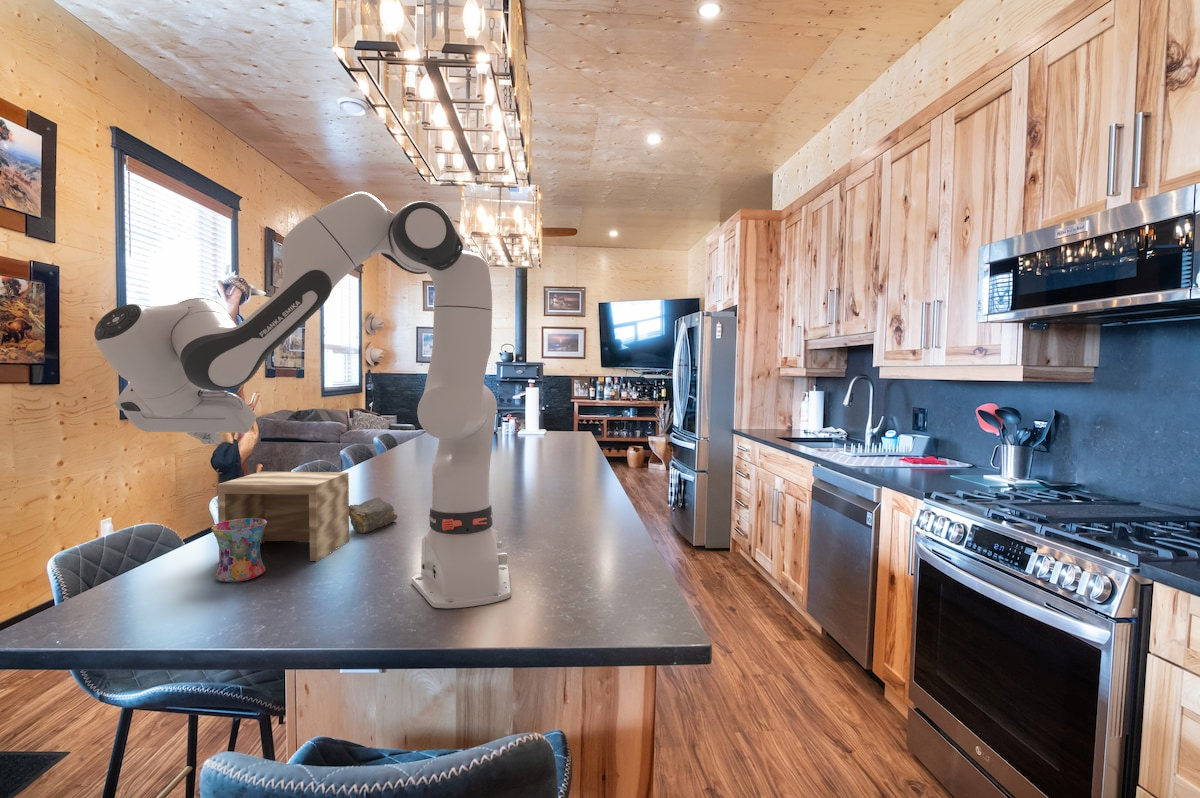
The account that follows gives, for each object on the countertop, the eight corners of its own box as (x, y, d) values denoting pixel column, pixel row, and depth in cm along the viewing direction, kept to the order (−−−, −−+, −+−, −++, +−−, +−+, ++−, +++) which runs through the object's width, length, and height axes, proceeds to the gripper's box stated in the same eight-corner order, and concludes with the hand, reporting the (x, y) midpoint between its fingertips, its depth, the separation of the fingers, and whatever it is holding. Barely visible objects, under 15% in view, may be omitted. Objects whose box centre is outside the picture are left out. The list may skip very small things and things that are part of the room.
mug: (253, 585, 111) (252, 530, 110) (201, 586, 110) (200, 530, 109) (282, 564, 123) (281, 514, 122) (236, 565, 122) (235, 514, 121)
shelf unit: (316, 562, 124) (315, 485, 123) (219, 560, 124) (217, 484, 124) (349, 540, 139) (348, 472, 139) (262, 539, 140) (261, 471, 139)
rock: (383, 517, 144) (343, 507, 143) (376, 543, 144) (337, 533, 144) (406, 500, 161) (370, 490, 160) (400, 523, 161) (365, 513, 161)
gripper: (241, 378, 101) (275, 429, 111) (125, 377, 101) (169, 427, 112) (225, 405, 97) (261, 455, 107) (104, 404, 97) (151, 454, 107)
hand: (213, 441), depth 109 cm, fingers closed
